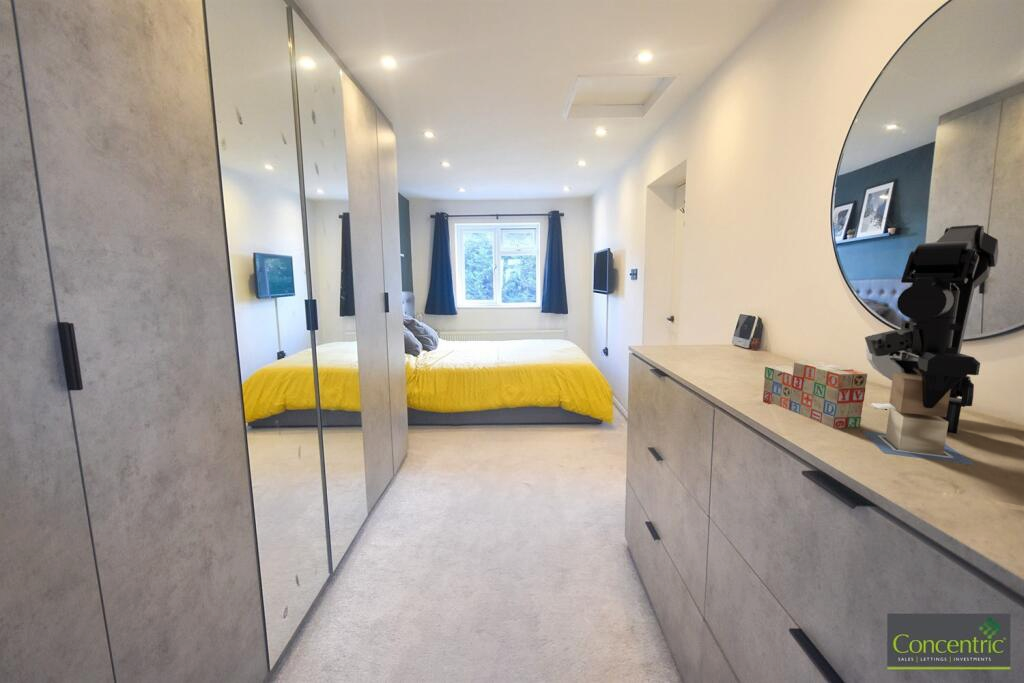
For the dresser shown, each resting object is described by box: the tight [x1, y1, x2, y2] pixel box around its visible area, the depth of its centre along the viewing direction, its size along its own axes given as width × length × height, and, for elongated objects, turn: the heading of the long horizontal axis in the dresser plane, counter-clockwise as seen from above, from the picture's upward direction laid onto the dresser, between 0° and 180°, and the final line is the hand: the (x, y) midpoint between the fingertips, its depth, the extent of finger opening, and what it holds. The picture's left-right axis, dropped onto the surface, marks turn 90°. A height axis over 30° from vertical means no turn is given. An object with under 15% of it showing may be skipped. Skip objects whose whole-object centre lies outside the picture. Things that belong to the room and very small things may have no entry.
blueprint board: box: [860, 430, 977, 466], centre depth 77 cm, size 12×12×1 cm
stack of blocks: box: [762, 360, 868, 429], centre depth 96 cm, size 21×6×12 cm, turn 6°
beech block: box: [885, 408, 948, 455], centre depth 76 cm, size 6×6×6 cm
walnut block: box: [888, 372, 951, 417], centre depth 75 cm, size 6×6×6 cm
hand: (919, 402), depth 75 cm, fingers closed on walnut block, 6 cm apart
